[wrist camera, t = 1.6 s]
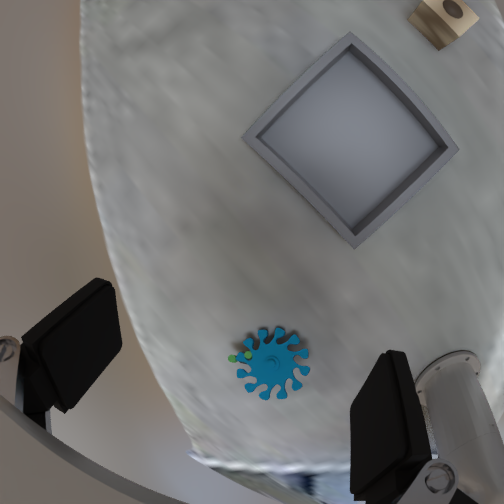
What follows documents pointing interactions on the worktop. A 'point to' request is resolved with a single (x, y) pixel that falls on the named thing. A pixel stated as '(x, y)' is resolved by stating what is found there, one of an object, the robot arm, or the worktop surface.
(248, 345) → the gear
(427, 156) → the tray
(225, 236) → the worktop surface
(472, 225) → the worktop surface
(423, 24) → the maple block
